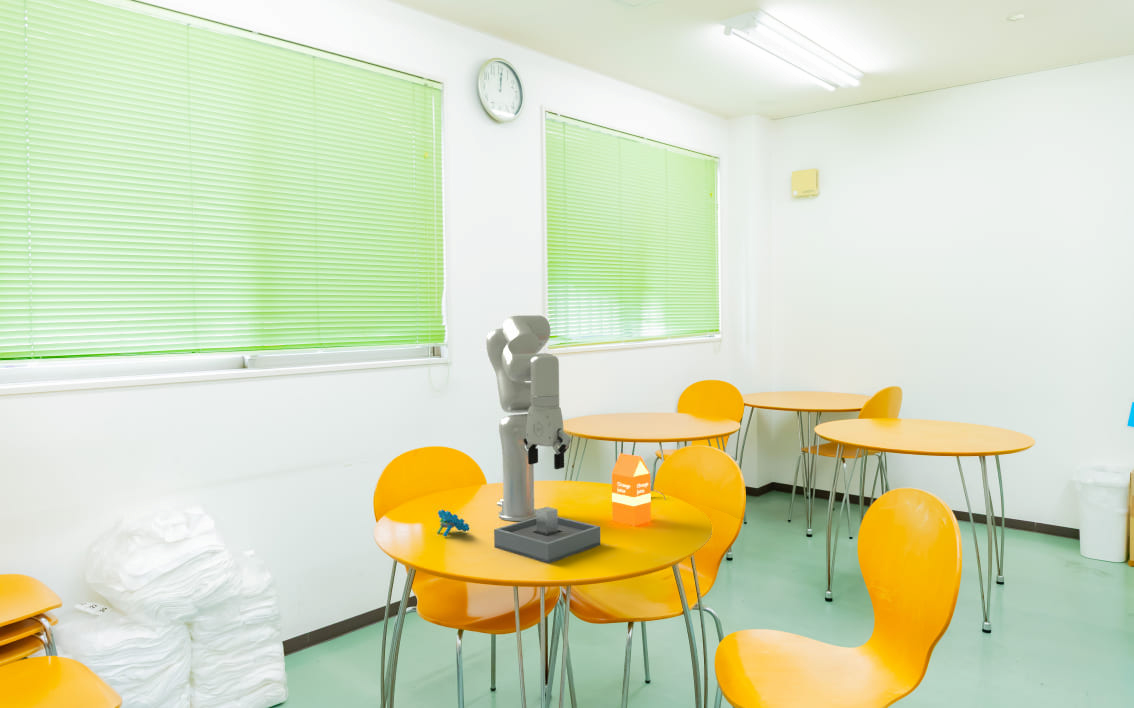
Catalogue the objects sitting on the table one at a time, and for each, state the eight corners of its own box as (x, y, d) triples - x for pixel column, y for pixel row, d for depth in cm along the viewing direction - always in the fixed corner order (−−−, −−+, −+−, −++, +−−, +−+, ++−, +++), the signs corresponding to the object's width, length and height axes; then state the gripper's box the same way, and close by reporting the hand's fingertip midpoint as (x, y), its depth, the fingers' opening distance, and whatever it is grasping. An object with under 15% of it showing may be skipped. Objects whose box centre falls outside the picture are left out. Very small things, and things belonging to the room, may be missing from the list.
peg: (536, 543, 189) (536, 509, 189) (547, 539, 192) (547, 506, 192) (547, 546, 186) (546, 512, 186) (558, 542, 189) (557, 509, 189)
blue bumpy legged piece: (477, 528, 199) (451, 507, 195) (466, 546, 196) (440, 526, 192) (457, 527, 208) (432, 507, 204) (446, 544, 205) (421, 525, 201)
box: (494, 548, 189) (494, 529, 188) (547, 531, 203) (546, 514, 203) (548, 564, 175) (547, 544, 175) (600, 545, 190) (600, 526, 190)
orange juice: (629, 516, 219) (628, 451, 218) (651, 521, 212) (650, 455, 211) (611, 521, 213) (610, 455, 213) (633, 526, 207) (633, 458, 206)
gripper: (512, 401, 191) (513, 464, 192) (559, 405, 179) (560, 472, 180) (532, 398, 196) (533, 459, 197) (578, 402, 185) (579, 468, 185)
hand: (546, 465), depth 189 cm, fingers open, 9 cm apart
